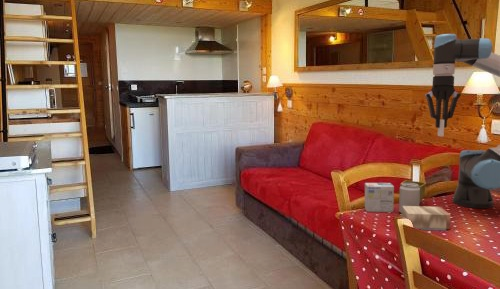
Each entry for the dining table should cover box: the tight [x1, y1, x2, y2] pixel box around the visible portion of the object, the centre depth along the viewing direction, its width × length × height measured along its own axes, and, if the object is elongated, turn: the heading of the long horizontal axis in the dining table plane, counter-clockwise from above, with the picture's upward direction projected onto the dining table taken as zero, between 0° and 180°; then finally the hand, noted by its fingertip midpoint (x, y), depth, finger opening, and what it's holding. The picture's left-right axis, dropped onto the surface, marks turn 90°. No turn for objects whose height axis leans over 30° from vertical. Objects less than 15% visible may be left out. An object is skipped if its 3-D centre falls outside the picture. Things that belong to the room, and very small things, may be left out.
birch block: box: [401, 205, 452, 230], centre depth 147 cm, size 5×10×14 cm
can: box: [398, 182, 420, 215], centre depth 160 cm, size 8×8×12 cm
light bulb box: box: [364, 182, 395, 213], centre depth 165 cm, size 11×7×11 cm, turn 84°
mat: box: [418, 228, 448, 232], centre depth 148 cm, size 13×13×1 cm
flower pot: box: [399, 180, 427, 204], centre depth 174 cm, size 9×9×9 cm
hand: (440, 136), depth 160 cm, fingers closed
